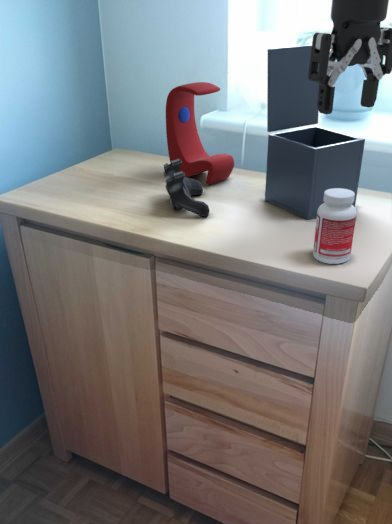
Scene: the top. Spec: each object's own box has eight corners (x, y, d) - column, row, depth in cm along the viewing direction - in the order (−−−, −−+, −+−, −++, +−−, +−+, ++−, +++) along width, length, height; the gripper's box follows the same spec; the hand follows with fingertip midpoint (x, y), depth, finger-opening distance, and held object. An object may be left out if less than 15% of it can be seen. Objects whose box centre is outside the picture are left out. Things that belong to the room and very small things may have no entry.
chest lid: (321, 44, 108) (318, 44, 108) (270, 49, 102) (267, 49, 103) (318, 123, 115) (315, 123, 116) (269, 132, 110) (267, 131, 110)
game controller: (177, 204, 124) (154, 164, 118) (204, 188, 122) (182, 148, 117) (182, 232, 110) (156, 189, 105) (213, 215, 109) (188, 171, 104)
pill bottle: (357, 260, 92) (368, 195, 86) (326, 268, 90) (335, 201, 84) (334, 247, 97) (343, 184, 91) (305, 253, 95) (311, 189, 89)
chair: (167, 174, 133) (163, 83, 122) (188, 167, 138) (186, 78, 126) (213, 187, 125) (214, 90, 114) (234, 179, 129) (236, 85, 118)
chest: (355, 207, 113) (365, 139, 106) (307, 219, 108) (315, 149, 100) (310, 189, 123) (316, 125, 115) (264, 200, 118) (268, 134, 110)
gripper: (343, -19, 69) (328, 120, 78) (421, -21, 75) (399, 108, 84) (302, -19, 74) (293, 111, 83) (379, -21, 80) (362, 100, 89)
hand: (346, 109), depth 84 cm, fingers open, 8 cm apart
